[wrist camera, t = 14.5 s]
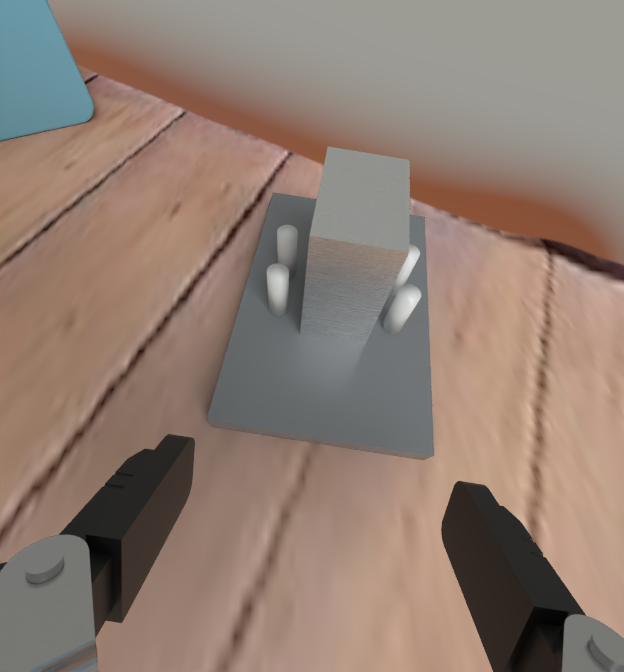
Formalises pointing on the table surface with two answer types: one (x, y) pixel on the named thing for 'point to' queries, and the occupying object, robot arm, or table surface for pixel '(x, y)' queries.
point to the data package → (37, 73)
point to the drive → (355, 243)
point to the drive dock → (326, 353)
